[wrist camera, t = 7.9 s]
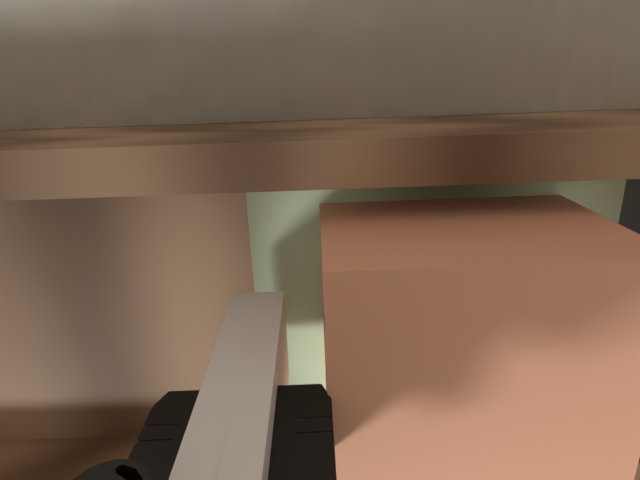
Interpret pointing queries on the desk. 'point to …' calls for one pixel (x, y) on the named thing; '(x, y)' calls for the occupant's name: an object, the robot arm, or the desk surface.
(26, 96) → the desk surface
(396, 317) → the block
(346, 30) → the desk surface
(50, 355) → the trap channel
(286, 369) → the robot arm
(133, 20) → the desk surface
